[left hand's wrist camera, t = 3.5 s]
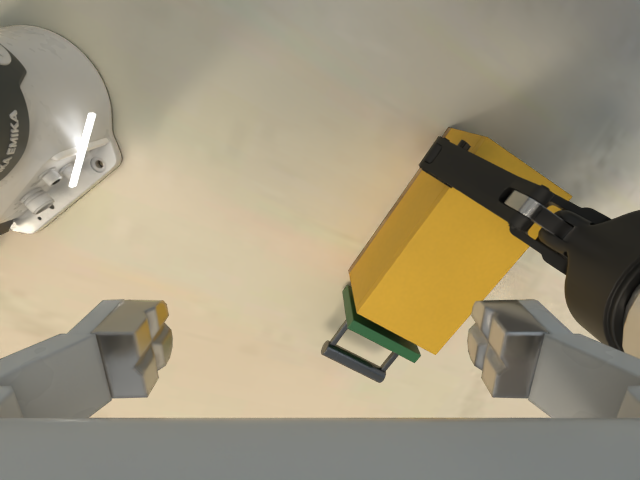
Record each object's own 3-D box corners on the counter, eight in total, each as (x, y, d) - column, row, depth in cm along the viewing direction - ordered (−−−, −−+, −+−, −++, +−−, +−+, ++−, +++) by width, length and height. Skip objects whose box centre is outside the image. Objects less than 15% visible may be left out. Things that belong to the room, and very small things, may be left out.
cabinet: (413, 306, 49) (435, 355, 40) (348, 270, 47) (356, 313, 38) (517, 174, 43) (573, 196, 34) (448, 127, 41) (487, 136, 32)
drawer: (374, 354, 51) (384, 399, 43) (317, 325, 49) (318, 367, 42) (495, 201, 43) (533, 223, 36) (434, 161, 42) (460, 175, 34)
